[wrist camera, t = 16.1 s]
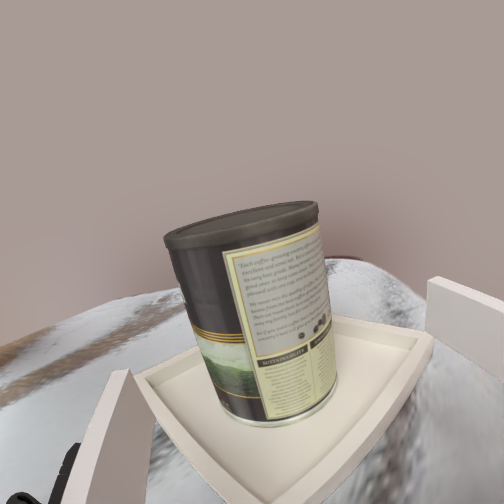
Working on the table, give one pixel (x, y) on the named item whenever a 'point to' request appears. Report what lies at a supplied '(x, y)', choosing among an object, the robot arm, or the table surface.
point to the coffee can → (260, 310)
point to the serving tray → (297, 434)
